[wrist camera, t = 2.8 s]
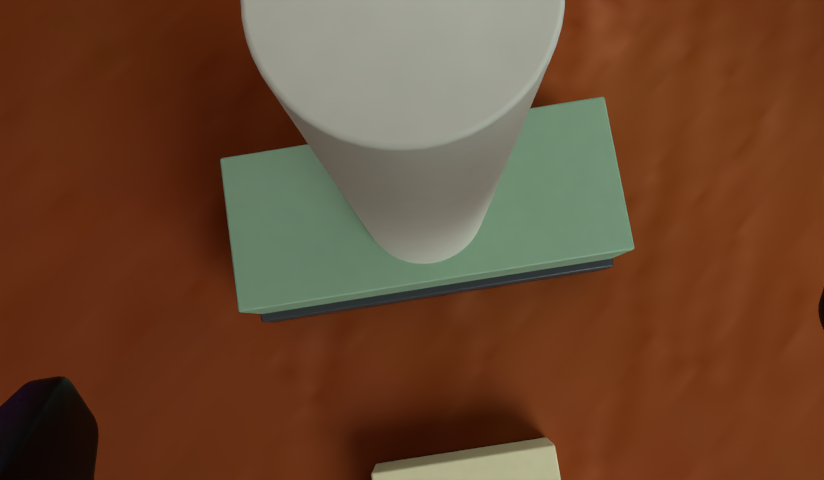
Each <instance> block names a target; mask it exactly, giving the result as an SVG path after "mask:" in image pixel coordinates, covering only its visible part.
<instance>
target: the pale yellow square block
mask: <svg viewBox="0 0 824 480" xmlns="http://www.w3.org/2000/svg"><path fill="white" fill-rule="evenodd" d="M371 478H372V480H561V478H560V472H559V467H558V461H557V455H556V450H555V446H554V444H553V443H552V442H551V441H549V440H548V439H547V438H539V439H533V440H526V441H520V442H513V443H507V444H500V445H494V446H487V447H481V448H475V449H468V450H462V451H455V452H449V453H442V454H436V455H430V456H423V457H417V458H410V459H404V460H397V461H391V462H384V463H378V464H376V465H375V467H374V469H373V471H372V473H371Z"/></svg>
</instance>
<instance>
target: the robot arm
mask: <svg viewBox="0 0 824 480" xmlns="http://www.w3.org/2000/svg"><path fill="white" fill-rule="evenodd" d="M819 318H820V322H821V324H822V327H823V329H824V289H823V292H822V295H821V298H820V302H819ZM97 446H98V426H97V423H96V420H95V418H94V416H93V414H92V413H91V411H90V410H89V408H88V407H87V405H86V404H85V402H84V401H83V399H82V398H81V396H80V395H79V393H78V392H77V390H76V388H75V387H74V385H73V384H72V383H71V381H70V380H68V379H67V378H65V377H60V376H58V377H51V378H45V379H39V380H33V381H30V382H28V383H26V384H25V385H23V386H22V387H21V388H20V389H19V390H18V391H17V392H16V393H15V394H13V395H12V396H11V397H10V398H9V399H8V400H7V401H6V402H5V403H4V404H3V405H2V406H1V407H0V480H94V472H95V463H96V455H97Z"/></svg>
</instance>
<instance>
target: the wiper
mask: <svg viewBox="0 0 824 480" xmlns="http://www.w3.org/2000/svg"><path fill="white" fill-rule="evenodd" d="M564 10H565V0H241V17H242V24H243V28H244V33H245V38H246V41H247V44H248V47H249V50H250V53H251V56H252V58H253V60H254V62H255V64H256V66H257V68H258V70H259V72H260V74H261V76H262V77H263V79H264V80H265V82H266V83H267V85H268V86H269V88H270V89H271V91H272V92H273V93H274V95H275V96H276V98H277V99H278V101H279V102H280V104H281V105H282V107H283V108H284V109H285V111H286V112H287V114H288V115H289V117H290V118H291V120H292V121H293V123H294V124H295V125H296V127H297V128H298V130H299V131H300V133H301V134H302V136H303V137H304V139H305V140H306V142H307V143H308V144H307V145H300V146H294V147H288V148H282V149H276V150H270V151H263V152H257V153H251V154H245V155H239V156H233V157H226V158H221V159H220V164H221V172H222V181H223V189H224V197H225V205H226V213H227V221H228V230H229V238H230V246H231V254H232V262H233V270H234V279H235V287H236V295H237V303H238V310H239V312H245V313H255V314H261V320H262V322H278V321H284V320H291V319H297V318H303V317H310V316H316V315H322V314H329V313H335V312H341V311H348V310H354V309H360V308H366V307H373V306H379V305H385V304H392V303H398V302H404V301H411V300H417V299H423V298H430V297H436V296H442V295H448V294H455V293H461V292H467V291H474V290H480V289H486V288H493V287H499V286H505V285H512V284H518V283H524V282H530V281H537V280H543V279H549V278H556V277H562V276H568V275H575V274H581V273H587V272H594V271H600V270H605V269H607V268H610V267H612V266H613V260H612V258H614V257H617V256H619V255H621V254H624V253H626V252H629V251H631V250H633V249H634V243H633V238H632V233H631V228H630V223H629V218H628V214H627V209H626V204H625V199H624V194H623V189H622V184H621V179H620V174H619V169H618V164H617V159H616V154H615V149H614V144H613V139H612V134H611V129H610V124H609V119H608V114H607V109H606V104H605V99H604V97H597V98H590V99H584V100H578V101H572V102H566V103H560V104H553V105H547V106H541V107H535V108H530V107H531V105H532V102H533V100H534V98H535V95H536V93H537V90H538V88H539V86H540V83H541V81H542V79H543V76H544V74H545V71H546V69H547V67H548V64H549V62H550V60H551V57H552V55H553V52H554V50H555V48H556V45H557V41H558V38H559V35H560V31H561V28H562V22H563V16H564Z"/></svg>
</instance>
